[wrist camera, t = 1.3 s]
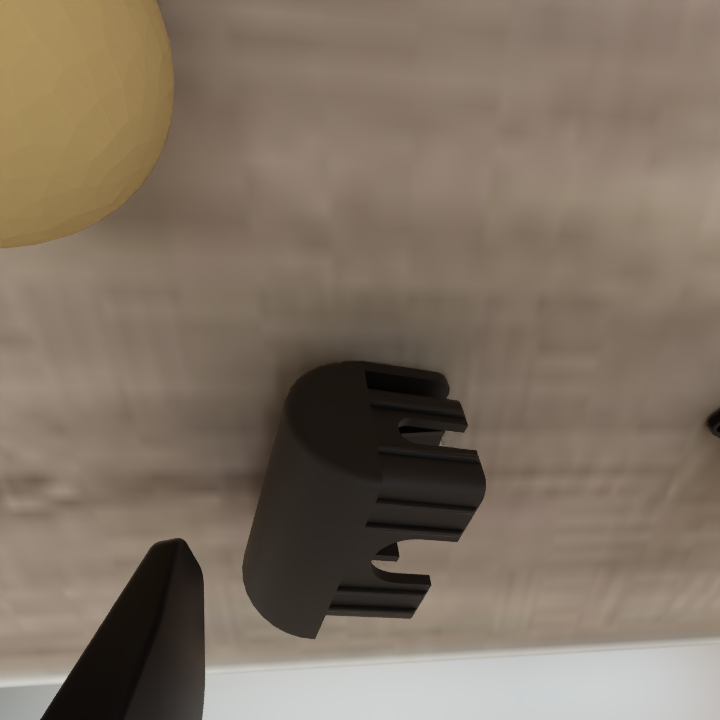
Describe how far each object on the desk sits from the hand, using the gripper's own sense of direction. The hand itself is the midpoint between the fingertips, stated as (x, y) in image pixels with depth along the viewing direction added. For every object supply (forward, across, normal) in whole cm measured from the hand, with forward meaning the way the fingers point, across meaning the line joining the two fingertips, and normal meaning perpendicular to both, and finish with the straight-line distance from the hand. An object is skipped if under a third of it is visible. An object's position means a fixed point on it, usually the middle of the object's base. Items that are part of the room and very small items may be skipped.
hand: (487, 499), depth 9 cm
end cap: (+14, +3, +12) cm, 19 cm away
